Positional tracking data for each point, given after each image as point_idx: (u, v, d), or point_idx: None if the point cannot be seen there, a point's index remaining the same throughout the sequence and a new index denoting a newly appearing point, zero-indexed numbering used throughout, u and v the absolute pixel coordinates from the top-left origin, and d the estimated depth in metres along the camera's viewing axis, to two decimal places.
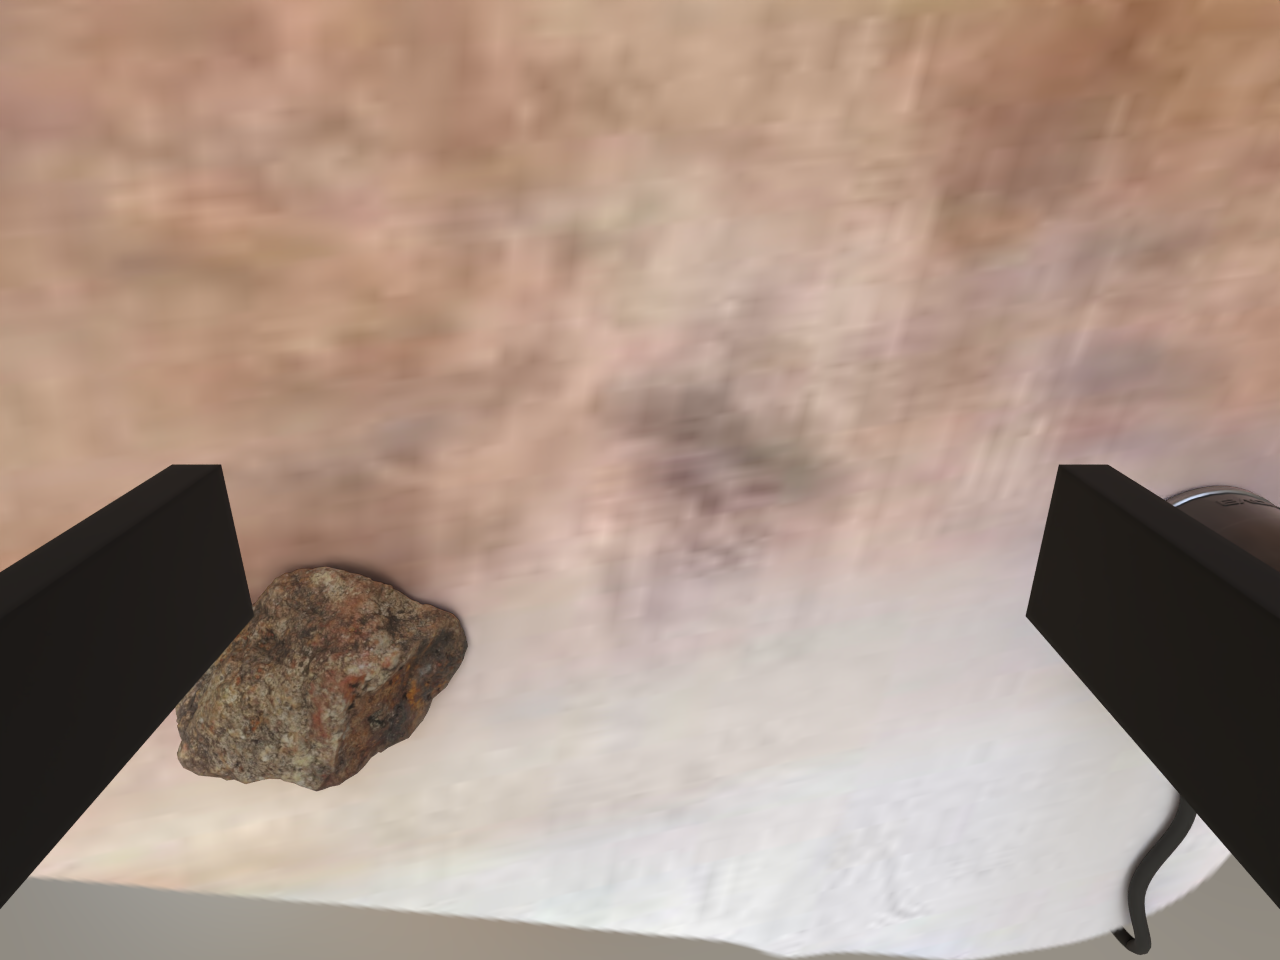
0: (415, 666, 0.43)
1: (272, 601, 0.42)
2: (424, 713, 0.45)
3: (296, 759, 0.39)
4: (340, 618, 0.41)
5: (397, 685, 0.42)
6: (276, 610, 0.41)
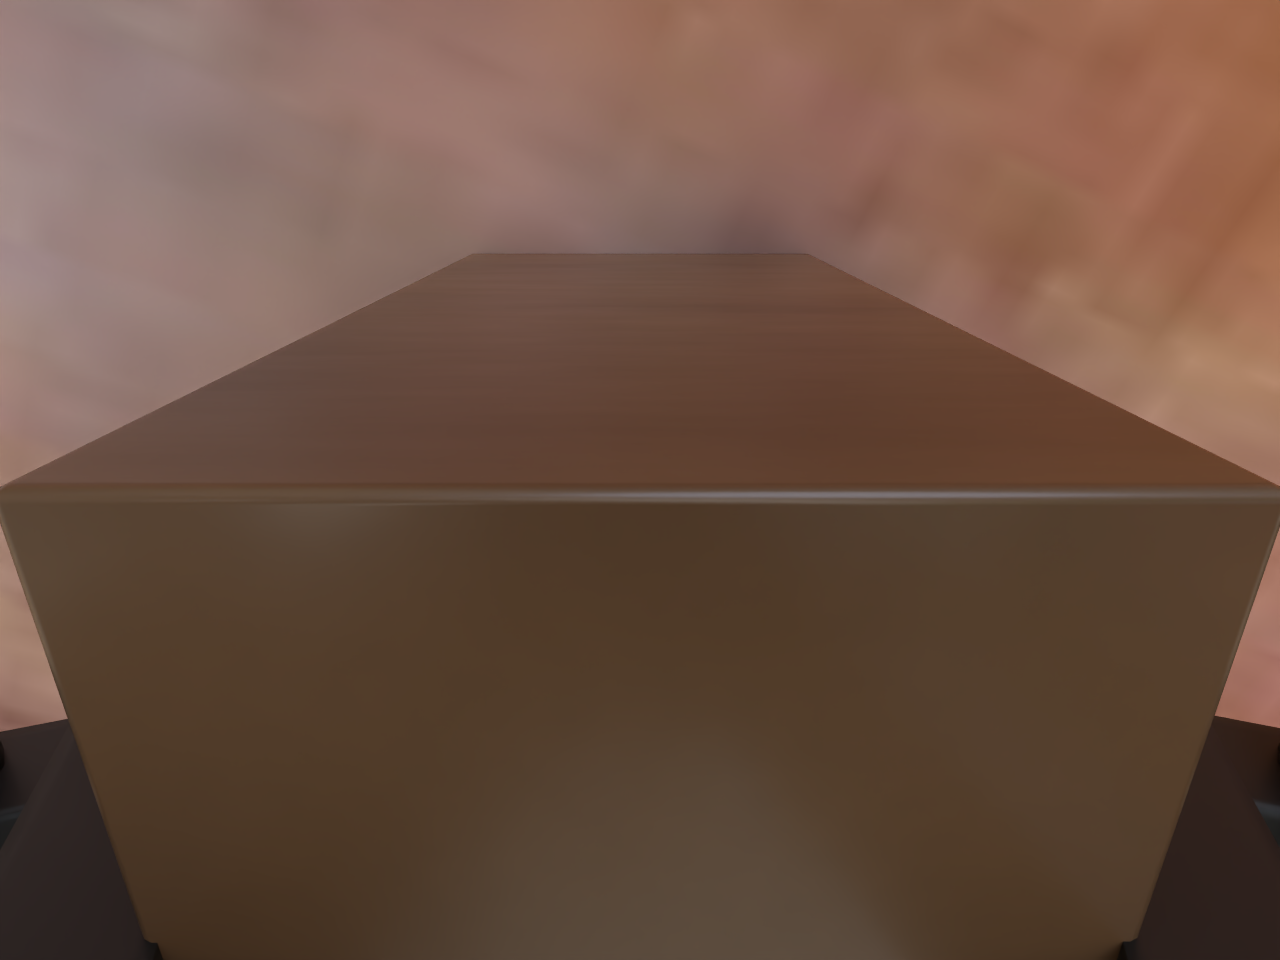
0: None
1: None
2: None
3: None
4: None
5: None
6: None
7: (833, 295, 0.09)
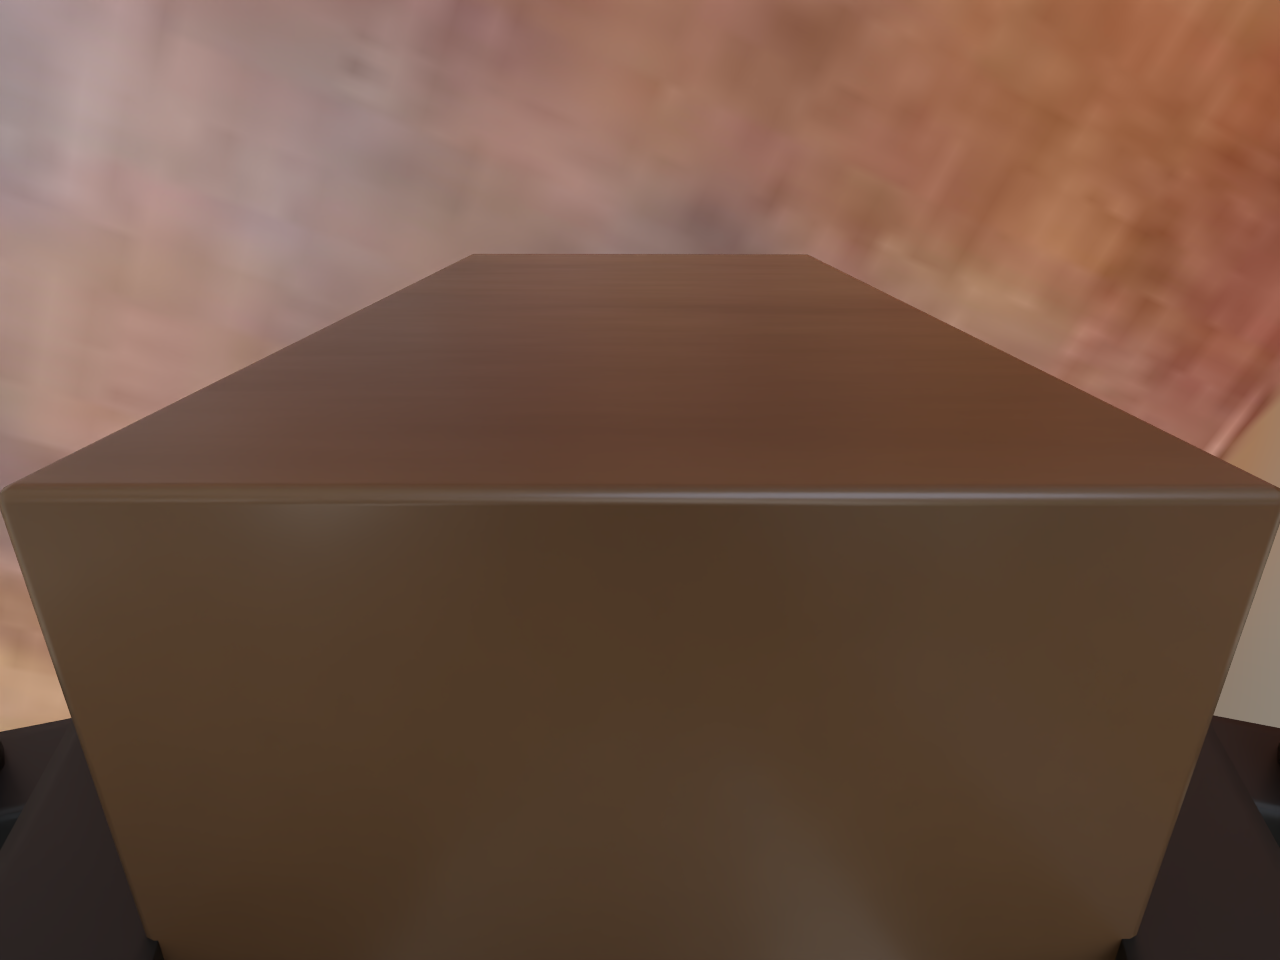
0: None
1: None
2: None
3: None
4: None
5: None
6: None
7: (833, 296, 0.09)
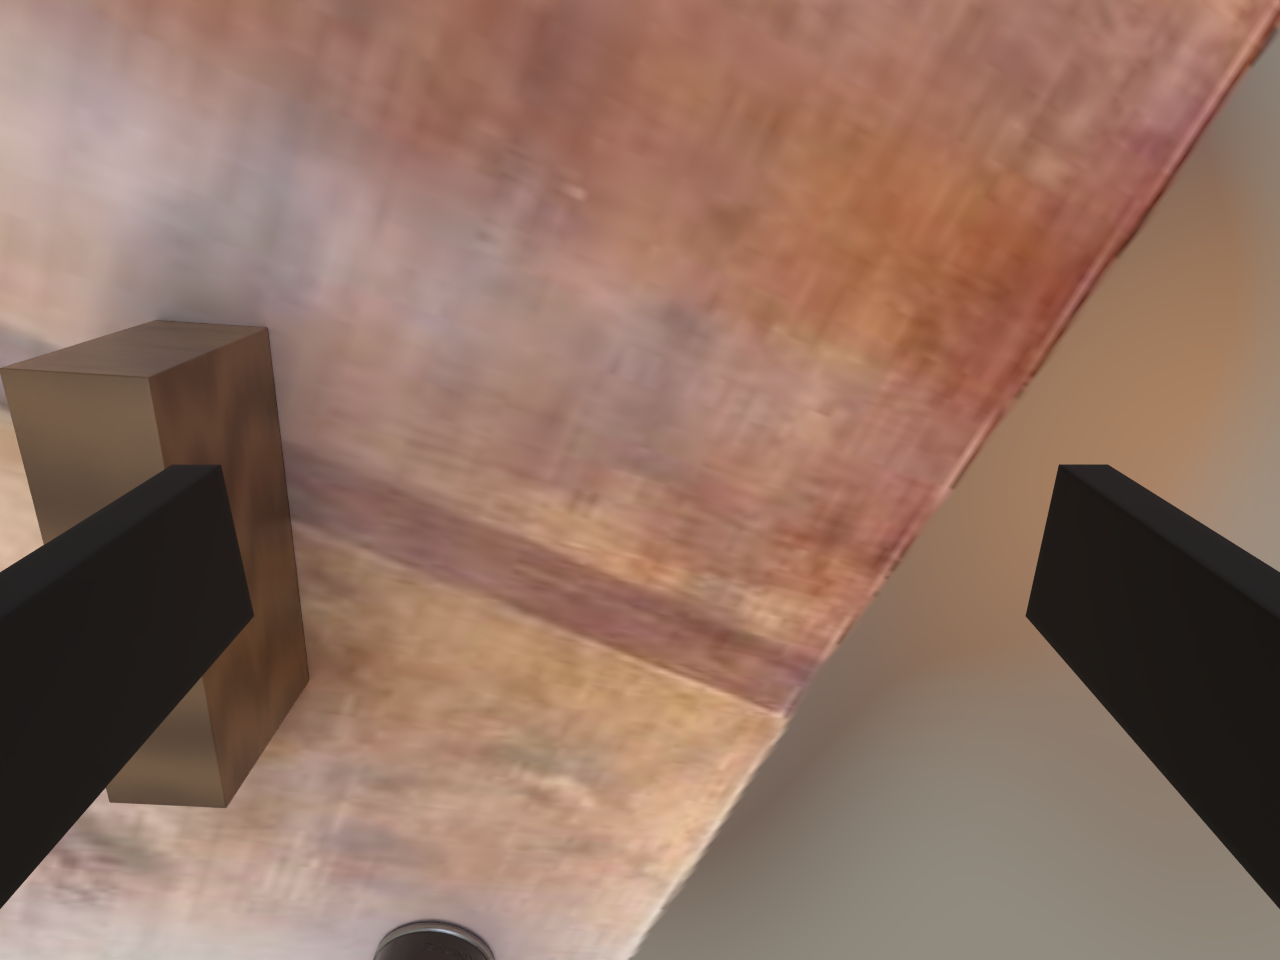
0: None
1: None
2: None
3: None
4: None
5: None
6: None
7: (205, 345, 0.37)
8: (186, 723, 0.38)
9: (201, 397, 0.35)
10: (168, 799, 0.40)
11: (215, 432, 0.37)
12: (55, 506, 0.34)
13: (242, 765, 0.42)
